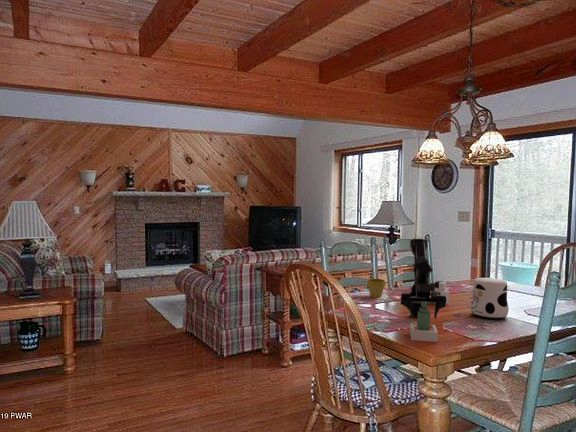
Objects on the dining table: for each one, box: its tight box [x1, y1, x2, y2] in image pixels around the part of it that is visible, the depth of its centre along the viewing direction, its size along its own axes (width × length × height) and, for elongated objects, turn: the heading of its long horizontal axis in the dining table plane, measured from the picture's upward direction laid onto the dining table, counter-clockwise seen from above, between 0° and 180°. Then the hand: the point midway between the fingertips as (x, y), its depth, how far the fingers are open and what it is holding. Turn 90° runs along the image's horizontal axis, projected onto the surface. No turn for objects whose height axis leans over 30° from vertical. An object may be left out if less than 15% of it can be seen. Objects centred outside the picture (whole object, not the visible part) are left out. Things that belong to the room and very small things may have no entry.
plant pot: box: [366, 278, 386, 299], centre depth 262 cm, size 10×10×10 cm
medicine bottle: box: [430, 280, 450, 305], centre depth 249 cm, size 7×7×12 cm
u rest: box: [409, 322, 439, 343], centre depth 190 cm, size 10×10×4 cm
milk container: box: [470, 277, 510, 320], centre depth 223 cm, size 17×17×18 cm
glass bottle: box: [416, 301, 431, 331], centre depth 190 cm, size 5×5×14 cm
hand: (423, 317), depth 189 cm, fingers open, 9 cm apart
